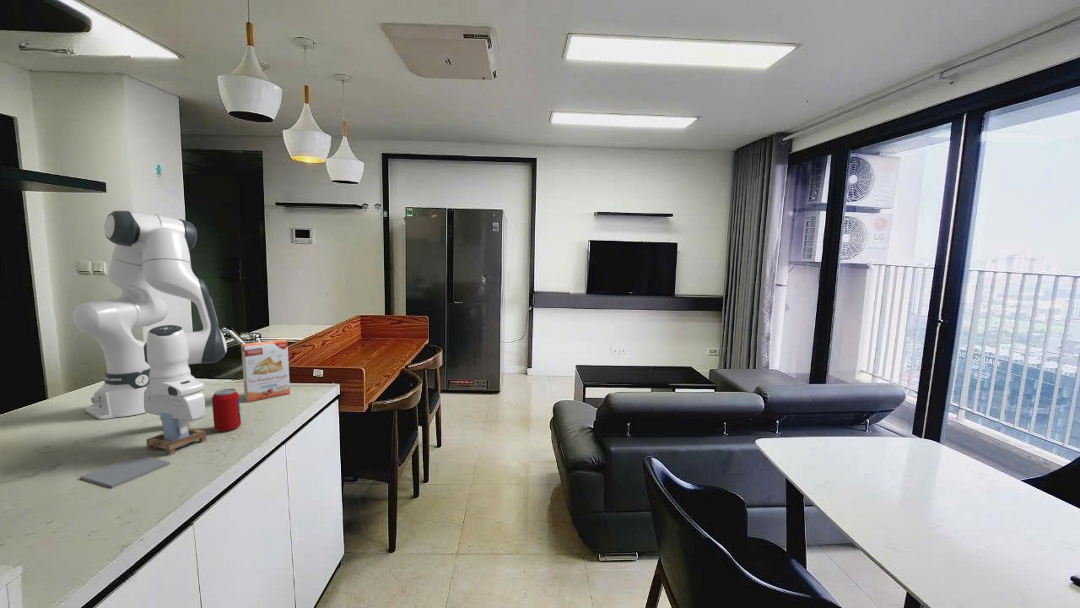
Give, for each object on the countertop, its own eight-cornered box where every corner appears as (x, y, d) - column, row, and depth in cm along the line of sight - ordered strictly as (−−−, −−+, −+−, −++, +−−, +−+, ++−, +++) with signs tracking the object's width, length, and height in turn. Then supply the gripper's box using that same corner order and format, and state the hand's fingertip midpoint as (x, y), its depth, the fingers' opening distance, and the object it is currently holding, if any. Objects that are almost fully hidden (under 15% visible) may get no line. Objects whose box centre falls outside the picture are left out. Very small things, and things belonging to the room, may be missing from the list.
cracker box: (248, 402, 157) (243, 346, 155) (244, 398, 162) (240, 343, 159) (291, 394, 167) (287, 340, 164) (286, 390, 171) (283, 338, 169)
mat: (80, 478, 105) (80, 476, 105) (139, 456, 117) (139, 454, 117) (111, 487, 101) (111, 485, 101) (169, 464, 113) (169, 461, 113)
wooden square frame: (147, 449, 121) (146, 439, 120) (184, 436, 129) (183, 426, 129) (170, 455, 118) (169, 444, 117) (206, 440, 126) (205, 431, 126)
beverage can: (246, 424, 138) (243, 388, 137) (229, 433, 131) (226, 395, 130) (226, 423, 139) (223, 387, 137) (208, 432, 132) (205, 394, 131)
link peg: (164, 446, 122) (161, 412, 121) (180, 441, 126) (177, 408, 125) (174, 449, 121) (170, 414, 120) (189, 443, 125) (186, 409, 123)
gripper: (133, 383, 122) (138, 430, 123) (183, 391, 115) (188, 441, 117) (159, 376, 127) (164, 421, 129) (208, 384, 121) (212, 432, 123)
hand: (176, 431), depth 123 cm, fingers closed on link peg, 4 cm apart
